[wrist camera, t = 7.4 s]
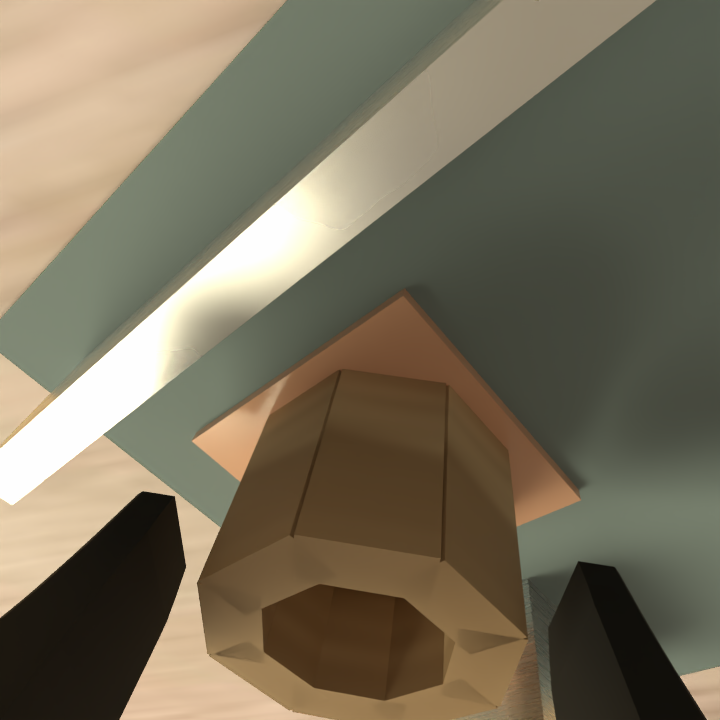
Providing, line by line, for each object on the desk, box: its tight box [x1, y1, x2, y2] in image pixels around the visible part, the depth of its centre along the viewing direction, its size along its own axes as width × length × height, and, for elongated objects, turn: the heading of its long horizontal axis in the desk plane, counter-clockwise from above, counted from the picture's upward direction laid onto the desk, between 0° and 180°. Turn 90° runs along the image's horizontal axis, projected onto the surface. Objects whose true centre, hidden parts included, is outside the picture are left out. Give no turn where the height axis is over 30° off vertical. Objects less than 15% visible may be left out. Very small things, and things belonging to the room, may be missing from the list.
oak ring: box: [197, 369, 528, 720], centre depth 11 cm, size 5×5×4 cm
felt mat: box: [0, 0, 720, 676], centre depth 12 cm, size 18×18×1 cm
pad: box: [192, 288, 581, 527], centre depth 13 cm, size 6×6×1 cm
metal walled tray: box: [0, 0, 656, 720], centre depth 10 cm, size 15×15×4 cm
